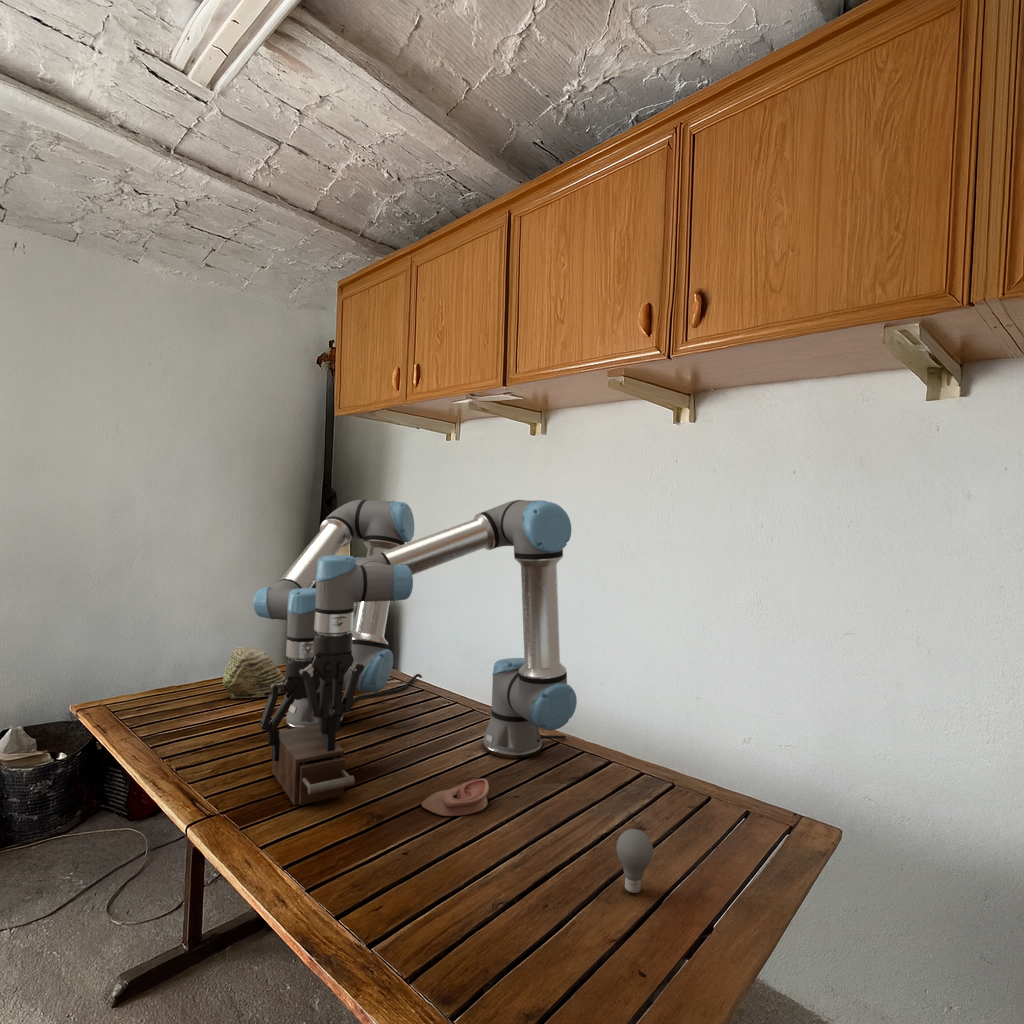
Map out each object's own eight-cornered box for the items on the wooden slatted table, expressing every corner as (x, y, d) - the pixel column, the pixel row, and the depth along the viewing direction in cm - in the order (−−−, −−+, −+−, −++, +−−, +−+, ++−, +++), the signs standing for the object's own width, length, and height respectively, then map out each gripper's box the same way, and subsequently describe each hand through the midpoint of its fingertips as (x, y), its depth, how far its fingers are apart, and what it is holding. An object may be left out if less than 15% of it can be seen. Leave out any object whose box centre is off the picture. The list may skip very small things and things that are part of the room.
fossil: (218, 695, 195) (220, 647, 195) (278, 685, 208) (279, 640, 207) (228, 703, 189) (230, 653, 188) (289, 692, 201) (290, 645, 201)
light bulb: (610, 879, 108) (613, 822, 108) (644, 879, 109) (647, 822, 109) (619, 902, 102) (622, 840, 102) (655, 901, 103) (658, 840, 103)
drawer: (353, 807, 128) (355, 769, 128) (309, 818, 123) (310, 779, 123) (319, 765, 147) (320, 733, 147) (278, 773, 142) (280, 740, 141)
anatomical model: (416, 792, 129) (434, 769, 140) (415, 812, 129) (434, 787, 140) (479, 801, 126) (493, 777, 137) (479, 821, 126) (492, 795, 137)
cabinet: (342, 794, 135) (344, 750, 135) (294, 805, 129) (295, 759, 129) (316, 763, 150) (318, 724, 150) (272, 772, 144) (273, 731, 144)
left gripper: (254, 666, 134) (250, 770, 135) (357, 655, 147) (353, 750, 147) (246, 658, 140) (243, 757, 141) (346, 648, 153) (342, 739, 154)
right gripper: (306, 639, 121) (301, 761, 121) (371, 633, 128) (366, 749, 128) (295, 631, 127) (290, 748, 127) (357, 626, 134) (353, 736, 135)
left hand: (299, 754), depth 144 cm, fingers closed on cabinet, 10 cm apart
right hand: (329, 748), depth 128 cm, fingers closed
